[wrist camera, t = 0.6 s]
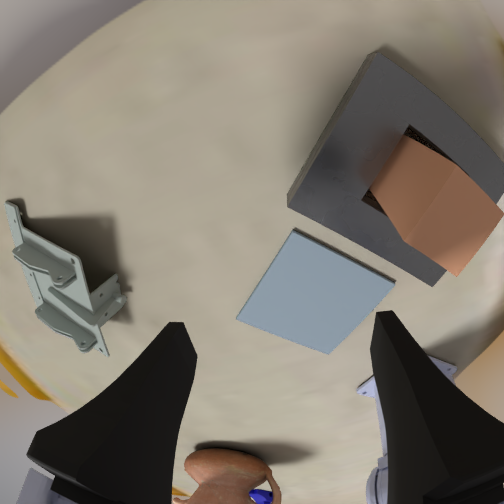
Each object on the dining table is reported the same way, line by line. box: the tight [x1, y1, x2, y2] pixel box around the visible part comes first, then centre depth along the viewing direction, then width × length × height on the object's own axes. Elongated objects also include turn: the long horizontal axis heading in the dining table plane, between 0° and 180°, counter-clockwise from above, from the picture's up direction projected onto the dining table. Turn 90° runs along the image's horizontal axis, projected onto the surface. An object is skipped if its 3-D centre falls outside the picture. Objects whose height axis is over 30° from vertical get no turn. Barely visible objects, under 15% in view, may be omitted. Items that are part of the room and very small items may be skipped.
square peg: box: [369, 134, 504, 277], centre depth 14 cm, size 4×4×7 cm
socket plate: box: [287, 52, 504, 287], centre depth 16 cm, size 12×10×2 cm
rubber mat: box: [236, 230, 395, 354], centre depth 22 cm, size 9×9×1 cm
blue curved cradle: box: [249, 489, 273, 504], centre depth 56 cm, size 12×4×6 cm, turn 52°
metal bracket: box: [4, 201, 127, 357], centre depth 24 cm, size 14×6×15 cm
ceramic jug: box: [173, 448, 281, 504], centre depth 37 cm, size 18×14×14 cm
